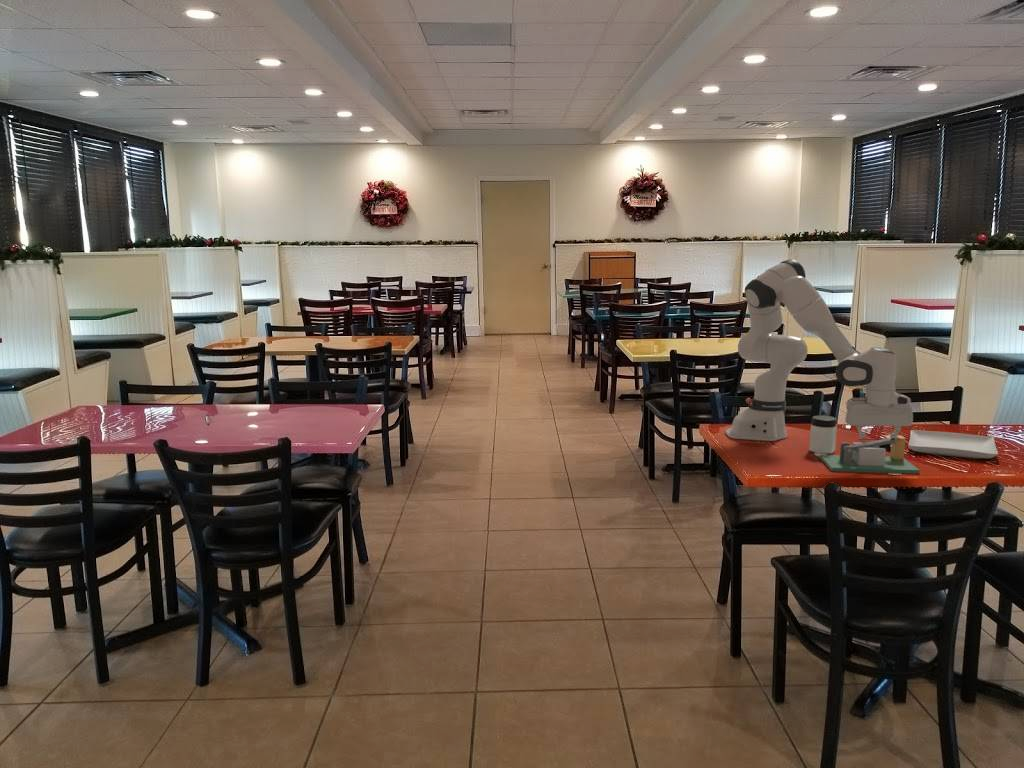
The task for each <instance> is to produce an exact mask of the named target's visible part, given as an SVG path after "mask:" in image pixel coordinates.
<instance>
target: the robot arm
mask: <svg viewBox="0 0 1024 768" xmlns="http://www.w3.org/2000/svg"><path fill="white" fill-rule="evenodd" d="M744 297H745V299H746V302H747V308H748V314H749V319H750V328H749V330H748V332H747V333H745V334H743V336H741V338H740V339H739V341H738V343H737V351H738V355H739V356H740V357H741V358H742V359H743V360H747V361H748V362H749V361H750V362H754V363H763V364H770V367H769V368H770V369H769V370H767V371H765V372H763V373H761V374H759V375H758V376H756V378H755V381H754V393H753V394H754V397H753V398H752V399H751V398H750V397H747V398H746V399H745V402H746V404H748V407H747V409H745V410H743V411H741V413H739V414H736V416H735V417H734V418H733V421H732V423H731V427H729V428H726V430H725V435H726V436H728V437H729V438H731V439H736V440H752V441H765V442H776V441H777V440H782V439H785V438H787V437H788V434H787V430H786V421H785V414H786V410H787V409H786V408H787V401H786V389H787V388H786V387H787V383H788V382H787V381H788V378H789V375H790V374H791V372H792V371H793V370H794V369H795V368H796V367H797V366H798V365H800V364H802V363H803V362H804V361H805V360H806V358H807V355H808V351H809V350H808V345H807V343H806V341H805V339H803V338H802V337H801V338H800V337H798V336H793V335H788V334H787V335H785V334H784V335H783V334H774V332H775V331H776V330H778V329H779V328H780V327H781V325H782V323H783V314H782V307H781V303H782V304H783V305H785V307H786V309H787V310H788V312H789V313H790V316H792V317H793V319H794V320H795V322H796V323H797V324H798V325H799V326H800V327H801V328H802V329H803V330H804V331H805V332H806V333H809V334H812V335H815V336H816V337H818V338H819V339H821V340H822V341H823V342H824V344H825V345H826V346H827V347H828V349H829V350H830V351H831V353H832V354H833V357H835V359H836V361H837V363H838V364H837V366H836V368H835V377H836V379H837V382H839V383H840V384H841V385H844V386H846V387H853V388H854V387H859V386H860V387H861V386H865V392H864V393H865V394H864V395H865V396H863V397H862V396H861V397H855V396H854V397H851V398H849V399H848V400H846V403H845V405H846V407H845V408H846V414H845V423H846V425H849V426H850V427H851V426H853V427H855V428H856V429H857V432H858V433H859V434H858V438H859V439H860V440H865V439H866V433H865V432H863V431H862V430H863V427H865V426H866V427H870V426H871V427H873V426H874V427H894V428H895V429H894V430H893V432H890V434H889V435H891V436H890V438H891V439H897V435H899V433H900V431H901V430H902V427H910V426H912V424H913V423H914V422H913V421H914V413H913V408H912V405H910V404H911V402H912V400H911V398H910V397H908V395H904V394H902V393H899V392H897V391H896V383H895V382H896V381H895V380H896V378H897V372H898V371H897V368H898V367H897V365H898V363H897V356H896V354H895V353H894V352H893V351H892V350H891V349H888V348H884V347H877V346H876V347H875V346H874V347H871V348H870V349H868V350H866V351H864V352H859V351H858V350H857V349H855V348H854V347H853V346H852V344H851V343H850V341H848V339H847V338H846V336H845V335H844V334H843V332H842V331H841V330H840V328H839V327H838V324H837V323H836V320H835V319H834V317H833V314H832V312H831V311H830V309H829V307H828V305H827V303H826V301H825V300H824V299H823V297H822V295H821V294H820V293H819V291H817V289H816V288H815V287H814V286H813V284H812V283H811V282H809V281H808V280H807V278H806V272H805V268H804V267H803V265H802V264H801V263H800V262H799V261H797V260H795V259H794V258H793V259H792V258H790V259H785V260H783V261H781V262H779V263H777V264H776V265H773V266H772V267H770V268H768V269H766V270H764V272H762V273H761V274H759V275H758V276H756V278H754V279H752V280H751V281H750V282H748V283H747V284H746V286H745V287H744Z"/></svg>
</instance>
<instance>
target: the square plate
mask: <svg viewBox="0 0 1024 768" xmlns="http://www.w3.org/2000/svg"><path fill="white" fill-rule="evenodd" d="M909 434H910V438H909V441H908V447H909V448H910V450H912V451H914V452H917V453H923V454H928V455H929V454H930V455H938V456H949V457H957V458H958V457H959V458H968V459H979V460H980V459H992V458H995V457H997V455H999V452H998V449H997V446H996V441H995V440H996V439H995V437H994V436H988V435H987V436H985V435H979V434H969V433H968V434H967V433H959V432H949V431H937V430H936V431H933V430H932V431H931V430H919V429H912V430H910V433H909Z"/></svg>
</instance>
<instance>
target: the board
mask: <svg viewBox="0 0 1024 768" xmlns="http://www.w3.org/2000/svg"><path fill="white" fill-rule="evenodd" d="M858 443H859V442H856V441H855V442H854V441H853V442H852V445H853V444H858ZM847 445H850V443H849V442H842V441H841V442H840V449H839V454H819V456H818V458H819V460H820V459H821V460H822V461H823V462H824V463H825V464H826V465H827V466H828V467H829V468H828V467H827V466H826V465H825V464H824V463H823V462H822V461H821V460H820V461H821V462H822V463H823V464H824V465H825V466H826V467H827V468H828V469H829V470H830V472H839V471H840V472H843V473H845V472H846V473H850V472H851V473H878V474H879V473H881V474H910V475H911V474H916V475H918V474H919V475H920V474H921V470H920V469H919V468H917V467H916V466H915V465H914V464H912V463H911V461H908V460H907V459H905V458H904V460H898V459H893V458H892V457H891V456H888V455H887V456H886V453H887V452H886V450H887V449H886V448H885V447H880V446H874V447H868V448H863V447H859V449H857V450H853V446H847ZM842 446H845V449H844V450H843V449H842Z"/></svg>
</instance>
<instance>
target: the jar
mask: <svg viewBox="0 0 1024 768" xmlns="http://www.w3.org/2000/svg"><path fill="white" fill-rule="evenodd" d="M837 423H838V420H837V418H836V417H834V416H831V415H829V416H828V415H813V416H812V418H811V425H810V432H809V435H810V436H809V451H810V452H813V453H815V454H822V453H825V454H824V455H833V454H834V452H835V451H836V445H837V428H838V425H837Z"/></svg>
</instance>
